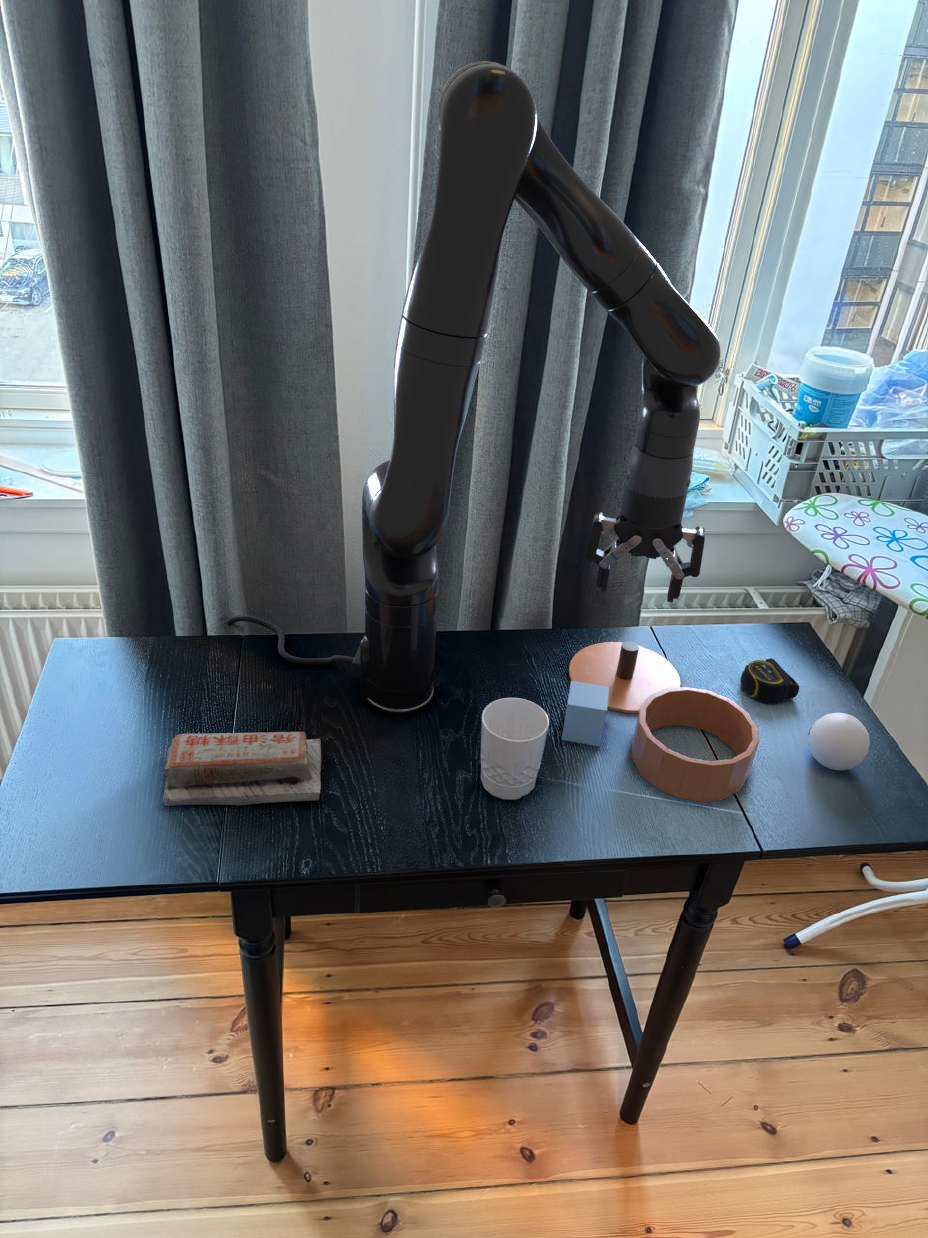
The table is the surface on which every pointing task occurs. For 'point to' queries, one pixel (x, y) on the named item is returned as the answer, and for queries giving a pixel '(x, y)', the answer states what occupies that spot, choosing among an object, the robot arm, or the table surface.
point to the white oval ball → (838, 741)
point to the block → (585, 713)
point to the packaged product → (242, 768)
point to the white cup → (512, 746)
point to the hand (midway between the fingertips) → (636, 594)
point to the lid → (624, 673)
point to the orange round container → (690, 773)
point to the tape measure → (768, 682)
